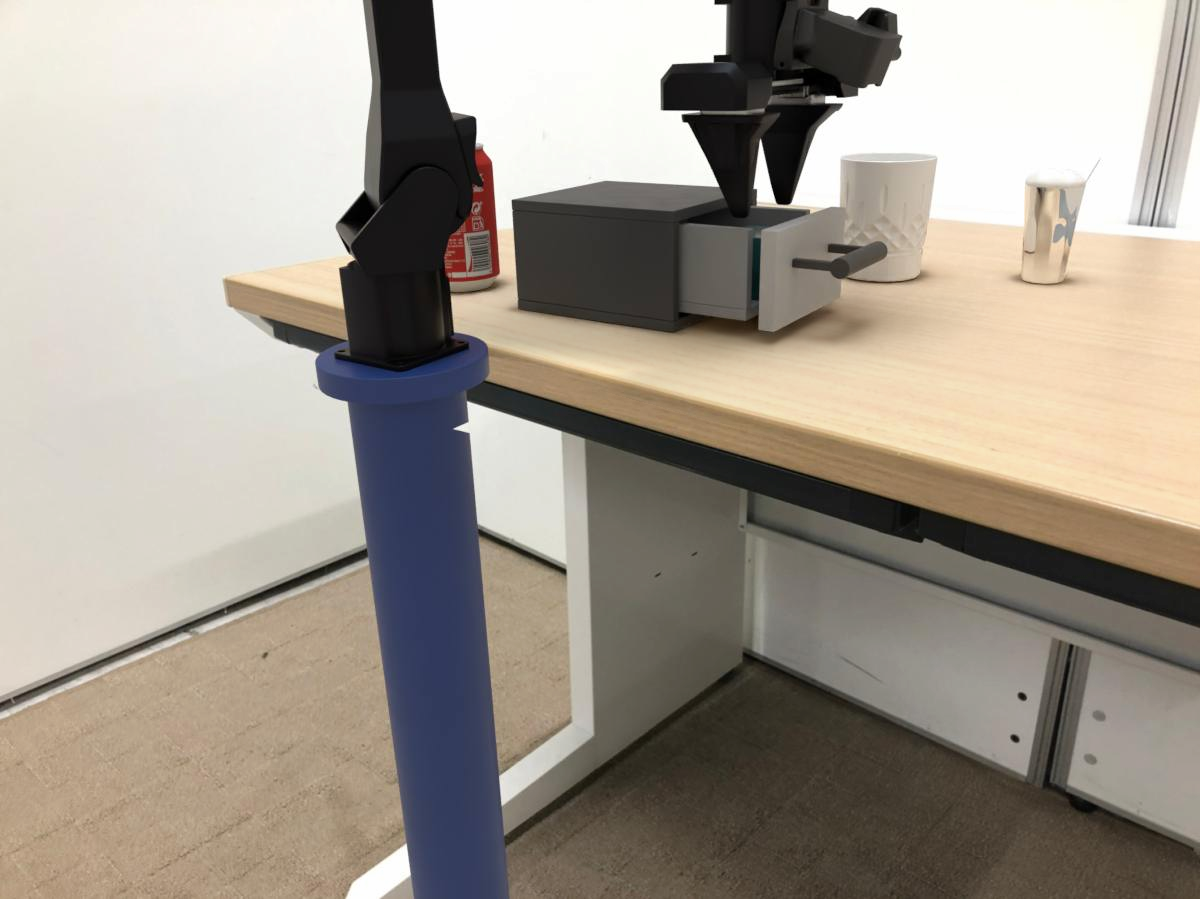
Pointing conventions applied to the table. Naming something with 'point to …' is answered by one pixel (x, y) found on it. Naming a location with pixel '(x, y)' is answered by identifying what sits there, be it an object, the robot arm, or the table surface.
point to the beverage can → (476, 237)
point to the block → (756, 261)
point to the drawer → (767, 263)
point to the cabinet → (608, 251)
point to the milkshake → (1050, 222)
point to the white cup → (888, 209)
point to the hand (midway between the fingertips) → (762, 211)
